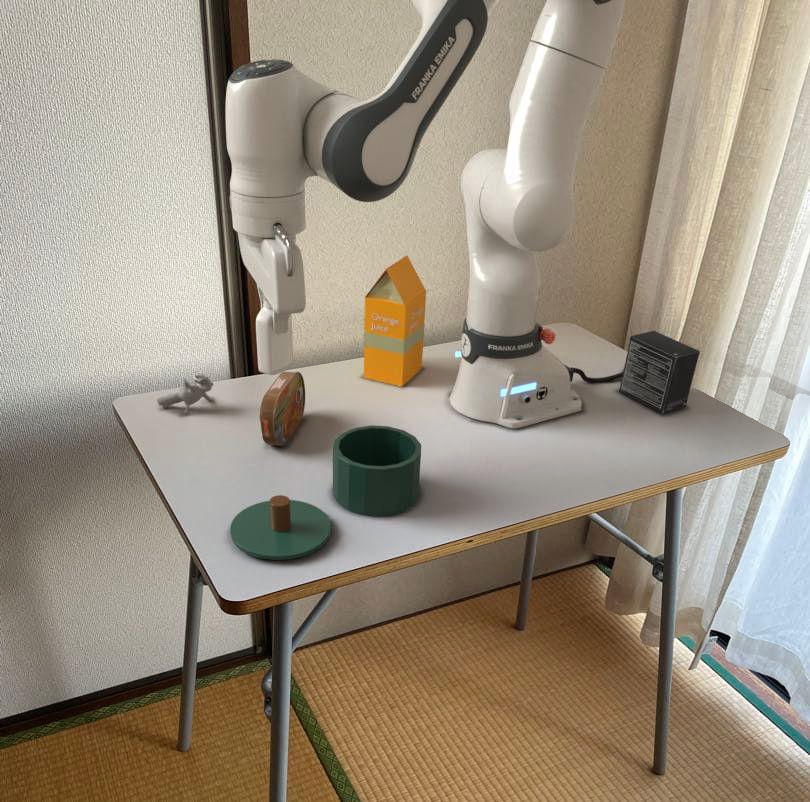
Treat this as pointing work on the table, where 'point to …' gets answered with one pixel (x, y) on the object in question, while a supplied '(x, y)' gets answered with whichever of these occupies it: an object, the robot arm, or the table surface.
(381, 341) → the orange juice
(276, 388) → the tin
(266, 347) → the eye dropper bottle
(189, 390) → the grey creature figurine
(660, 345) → the small box
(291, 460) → the table surface
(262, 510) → the lid
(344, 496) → the pot
